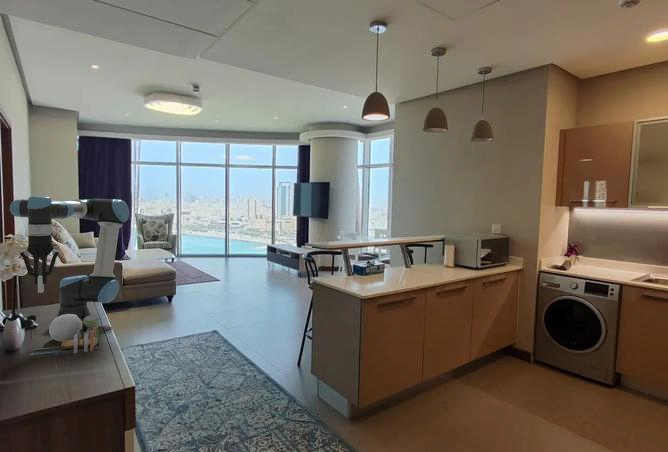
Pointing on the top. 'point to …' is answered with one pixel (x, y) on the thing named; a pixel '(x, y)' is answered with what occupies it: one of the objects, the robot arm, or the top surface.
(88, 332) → the collar
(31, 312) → the top surface
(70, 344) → the copper tube
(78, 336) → the collar
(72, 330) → the decorative ball
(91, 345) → the aperture bridge
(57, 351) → the grey open frame rack
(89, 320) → the beverage can
